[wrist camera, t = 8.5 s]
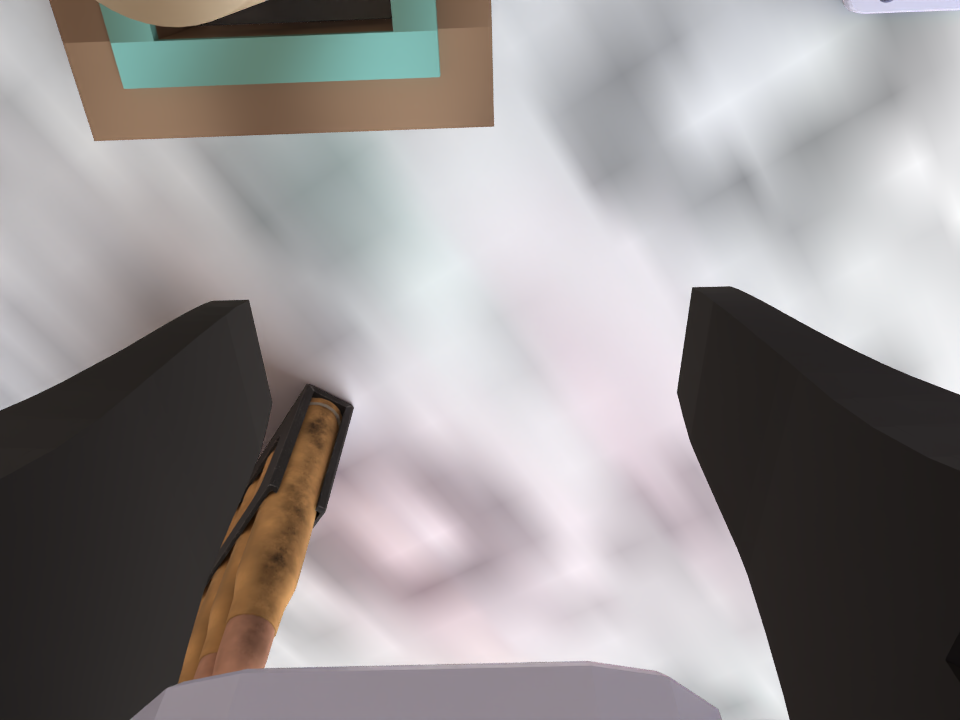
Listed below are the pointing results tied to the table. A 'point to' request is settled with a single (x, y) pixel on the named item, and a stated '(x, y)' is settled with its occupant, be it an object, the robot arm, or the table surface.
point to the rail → (281, 72)
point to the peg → (177, 10)
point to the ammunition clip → (268, 539)
